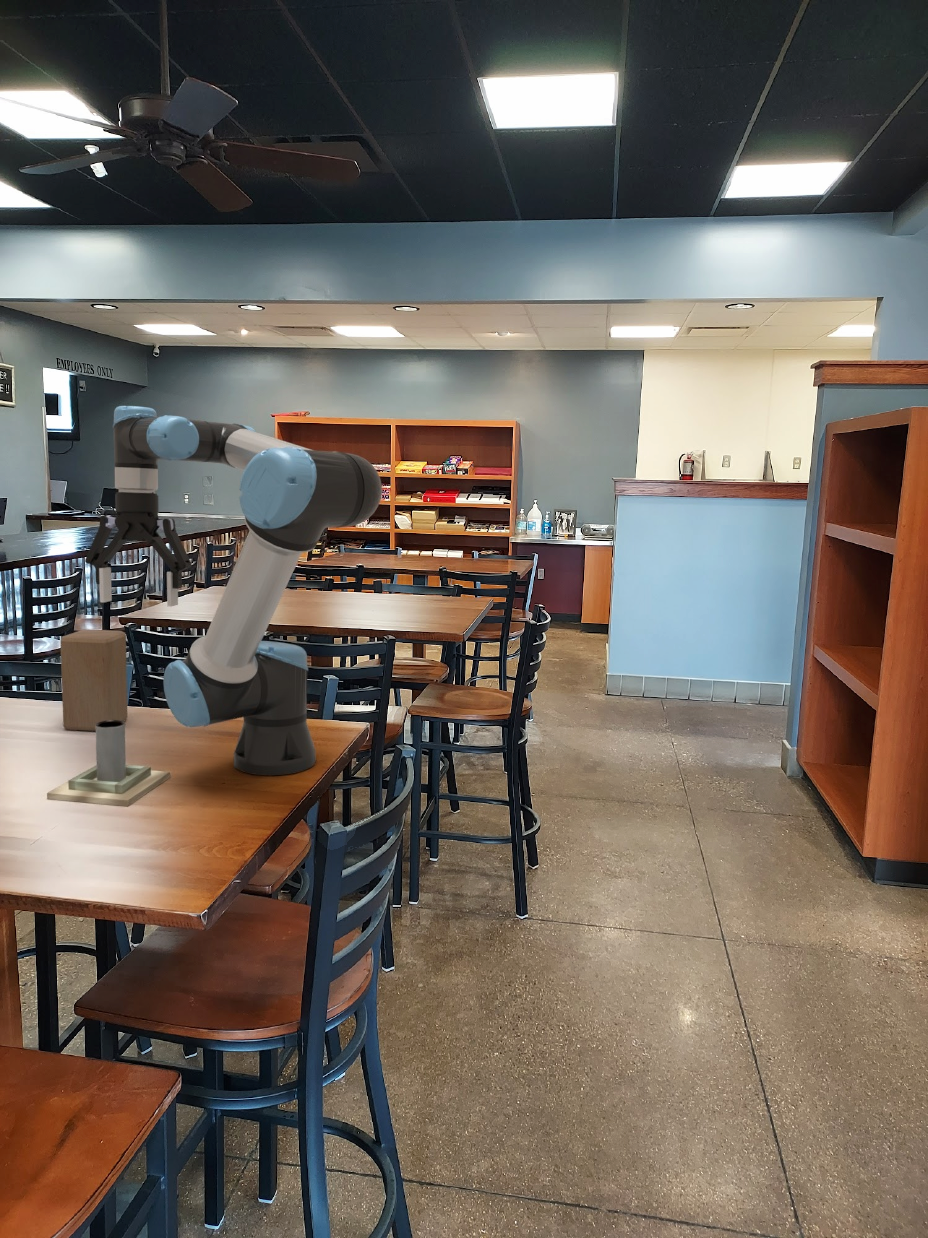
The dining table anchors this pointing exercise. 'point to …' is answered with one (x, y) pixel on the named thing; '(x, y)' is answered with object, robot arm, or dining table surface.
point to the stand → (109, 787)
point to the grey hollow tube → (110, 750)
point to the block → (93, 678)
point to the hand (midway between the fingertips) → (139, 603)
